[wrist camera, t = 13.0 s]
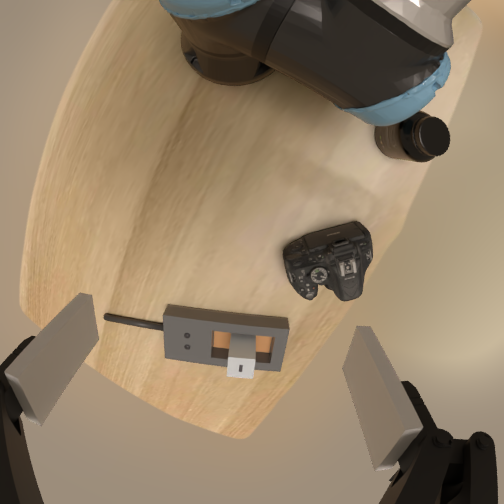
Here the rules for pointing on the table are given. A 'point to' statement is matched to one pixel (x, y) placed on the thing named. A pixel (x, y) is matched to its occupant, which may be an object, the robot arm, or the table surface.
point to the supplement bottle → (414, 138)
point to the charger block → (241, 356)
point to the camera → (330, 261)
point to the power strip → (216, 335)
